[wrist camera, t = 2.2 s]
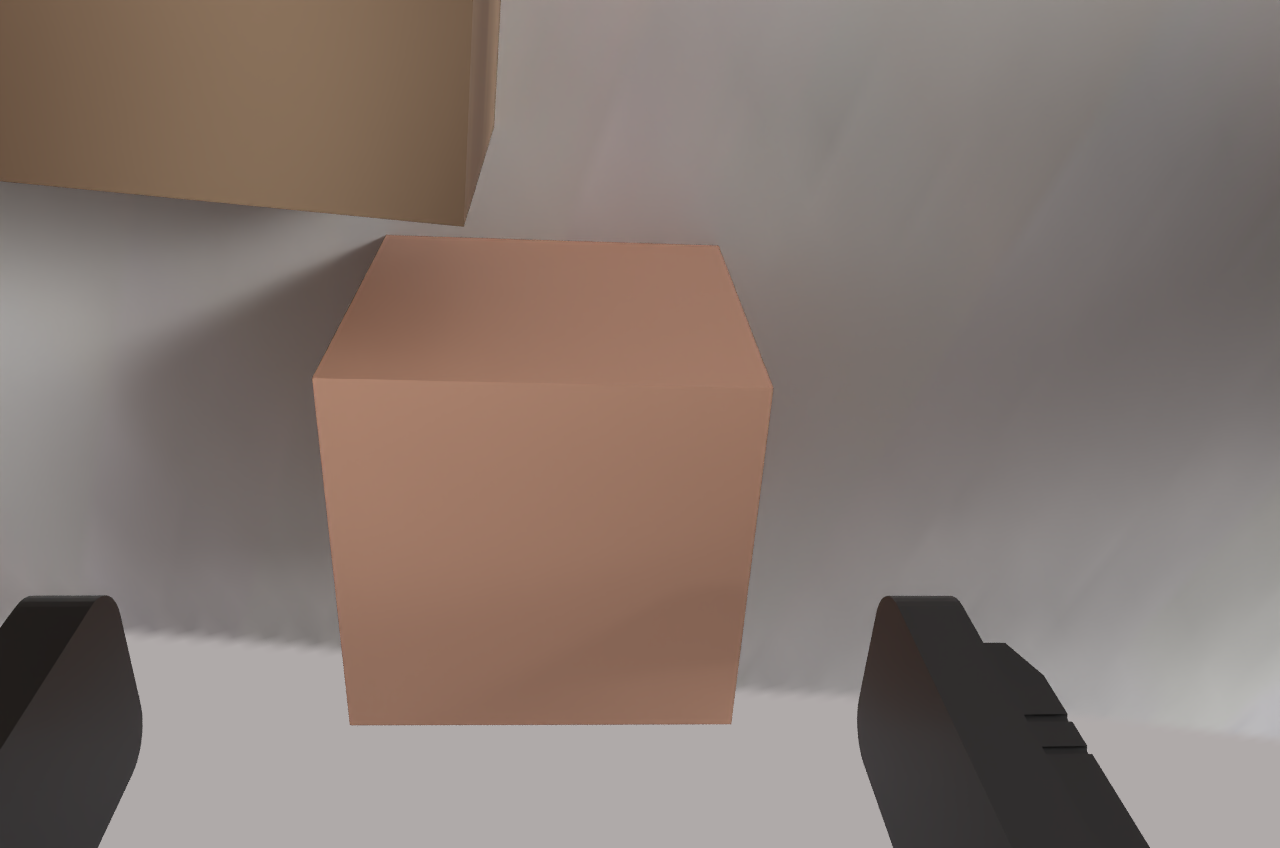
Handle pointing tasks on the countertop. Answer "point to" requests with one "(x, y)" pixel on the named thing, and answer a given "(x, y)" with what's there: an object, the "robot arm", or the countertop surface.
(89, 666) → the robot arm
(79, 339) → the countertop surface
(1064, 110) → the countertop surface
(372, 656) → the terracotta cube
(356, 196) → the walnut block
